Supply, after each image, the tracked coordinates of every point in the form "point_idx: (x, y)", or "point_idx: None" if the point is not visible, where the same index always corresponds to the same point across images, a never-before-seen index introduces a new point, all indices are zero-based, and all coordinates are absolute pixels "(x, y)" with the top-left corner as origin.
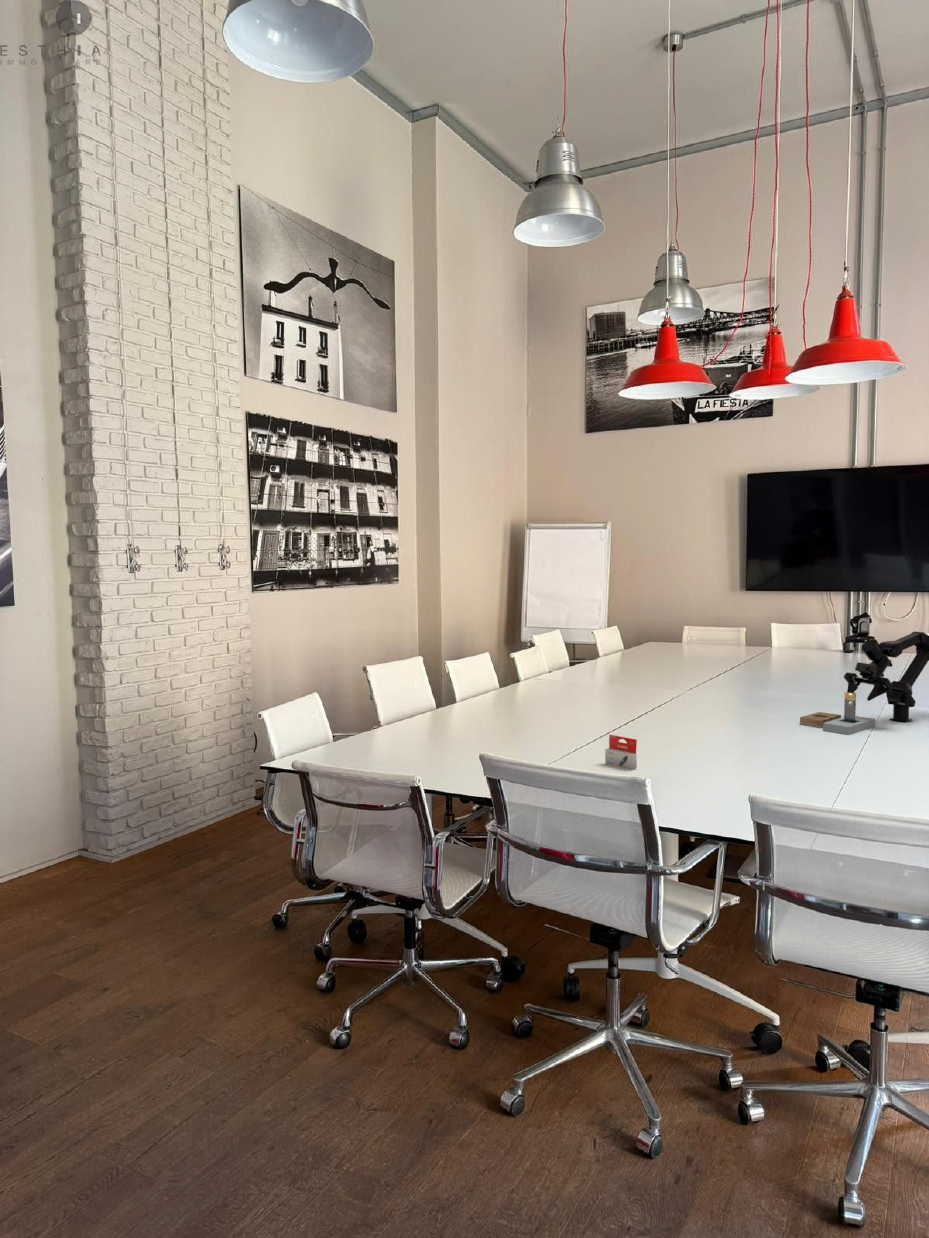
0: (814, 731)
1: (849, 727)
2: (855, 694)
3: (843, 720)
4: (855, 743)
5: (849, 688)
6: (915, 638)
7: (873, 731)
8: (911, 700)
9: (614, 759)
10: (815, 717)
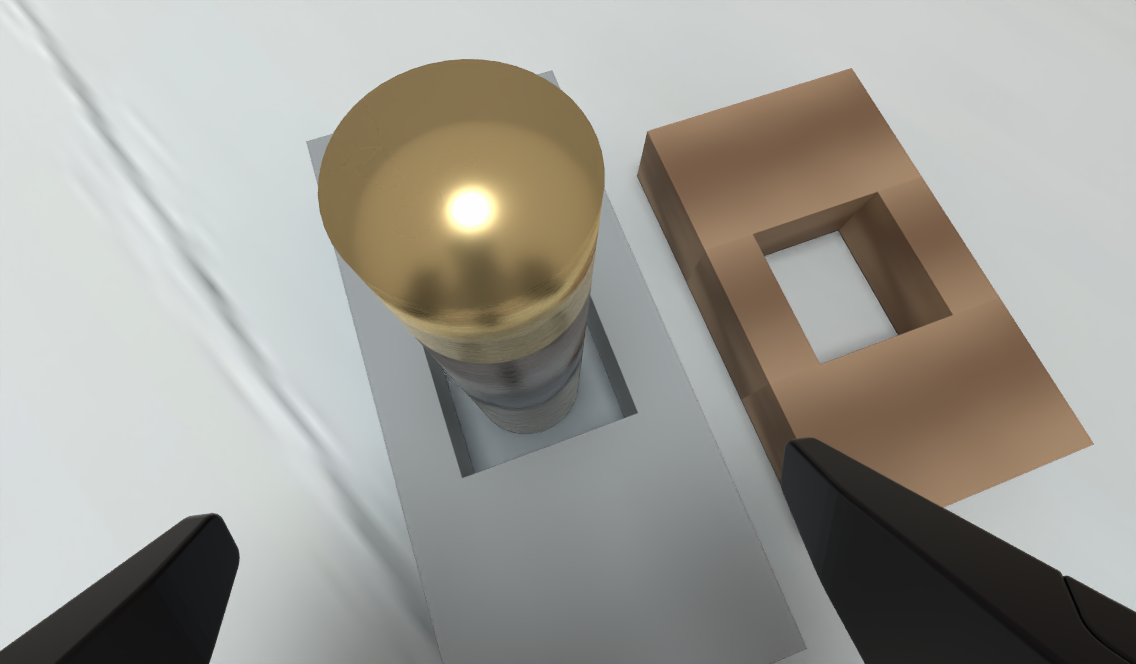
0: (559, 53)
1: (310, 154)
2: (328, 225)
3: (619, 373)
4: (122, 38)
5: (979, 580)
6: None
7: (318, 499)
8: None
9: None
10: (798, 177)
